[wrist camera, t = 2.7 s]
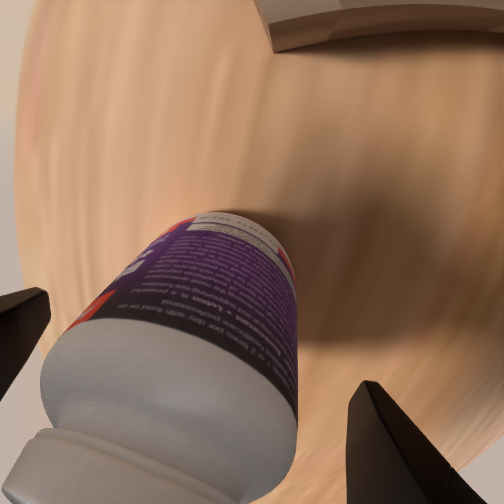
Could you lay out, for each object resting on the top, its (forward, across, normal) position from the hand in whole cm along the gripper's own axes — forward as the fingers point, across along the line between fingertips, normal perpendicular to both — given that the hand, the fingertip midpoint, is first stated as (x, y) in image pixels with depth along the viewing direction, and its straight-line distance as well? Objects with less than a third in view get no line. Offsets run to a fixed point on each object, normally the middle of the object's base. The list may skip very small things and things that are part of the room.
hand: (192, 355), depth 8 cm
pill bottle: (+4, 0, 0) cm, 4 cm away
